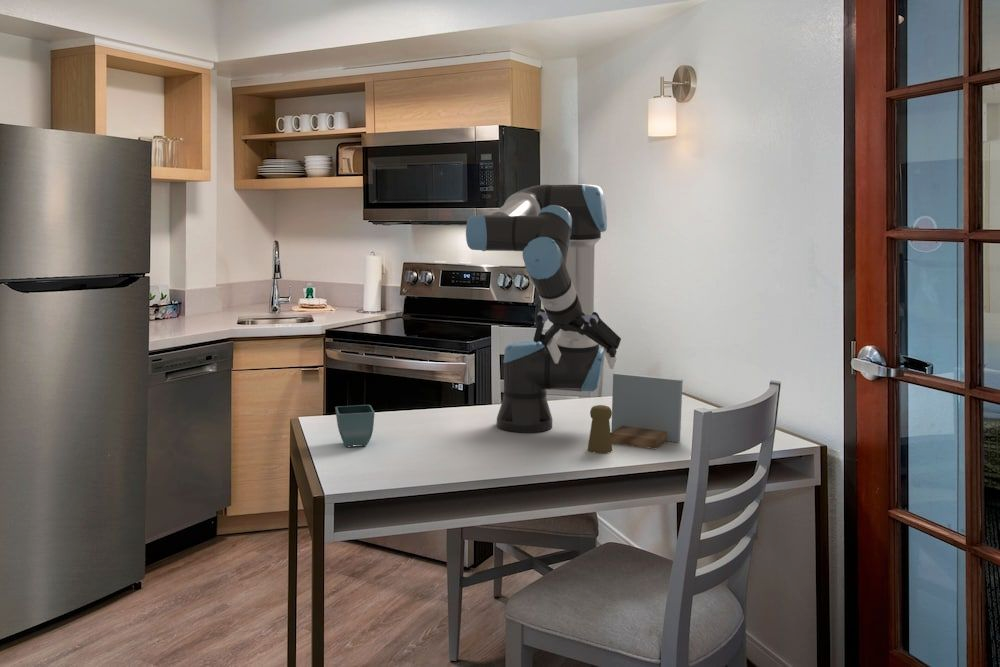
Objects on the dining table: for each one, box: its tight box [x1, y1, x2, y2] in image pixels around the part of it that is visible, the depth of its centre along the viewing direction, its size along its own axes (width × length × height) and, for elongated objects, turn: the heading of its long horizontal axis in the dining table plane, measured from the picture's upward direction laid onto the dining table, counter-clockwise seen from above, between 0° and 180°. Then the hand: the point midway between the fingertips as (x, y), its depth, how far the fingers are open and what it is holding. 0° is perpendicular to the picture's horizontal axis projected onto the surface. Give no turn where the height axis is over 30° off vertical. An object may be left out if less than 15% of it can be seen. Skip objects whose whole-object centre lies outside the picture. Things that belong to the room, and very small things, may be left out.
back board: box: [610, 372, 684, 443], centre depth 219 cm, size 18×2×16 cm, turn 62°
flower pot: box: [334, 404, 376, 447], centre depth 209 cm, size 9×9×9 cm
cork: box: [587, 404, 613, 454], centre depth 207 cm, size 6×6×11 cm
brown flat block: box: [610, 426, 668, 449], centre depth 216 cm, size 12×9×2 cm
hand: (585, 361), depth 194 cm, fingers open, 13 cm apart
